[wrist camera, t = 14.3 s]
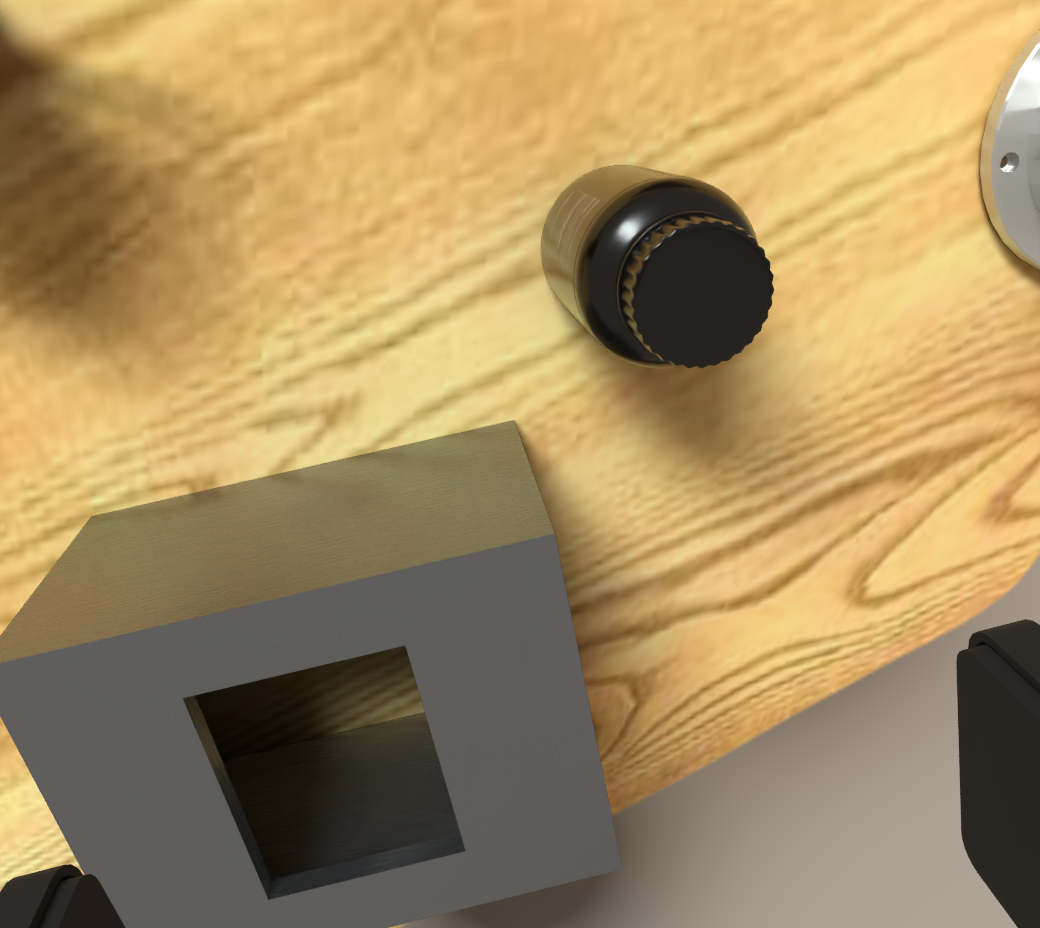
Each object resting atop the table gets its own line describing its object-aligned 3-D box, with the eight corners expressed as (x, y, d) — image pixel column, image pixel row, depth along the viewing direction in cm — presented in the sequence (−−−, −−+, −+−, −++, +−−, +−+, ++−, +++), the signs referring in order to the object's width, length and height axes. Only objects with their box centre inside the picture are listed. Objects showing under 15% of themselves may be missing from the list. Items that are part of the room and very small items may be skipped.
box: (514, 420, 41) (554, 533, 30) (571, 692, 48) (622, 869, 37) (91, 516, 41) (-25, 668, 30) (205, 780, 47) (144, 988, 36)
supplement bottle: (592, 350, 41) (663, 439, 30) (508, 225, 38) (551, 273, 27) (718, 261, 40) (839, 320, 29) (640, 129, 37) (741, 137, 26)
